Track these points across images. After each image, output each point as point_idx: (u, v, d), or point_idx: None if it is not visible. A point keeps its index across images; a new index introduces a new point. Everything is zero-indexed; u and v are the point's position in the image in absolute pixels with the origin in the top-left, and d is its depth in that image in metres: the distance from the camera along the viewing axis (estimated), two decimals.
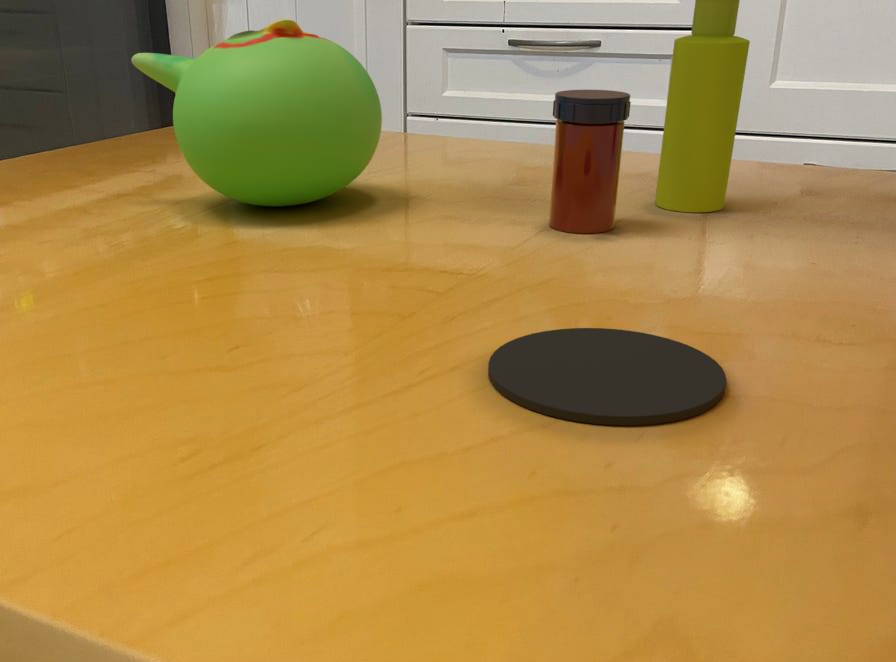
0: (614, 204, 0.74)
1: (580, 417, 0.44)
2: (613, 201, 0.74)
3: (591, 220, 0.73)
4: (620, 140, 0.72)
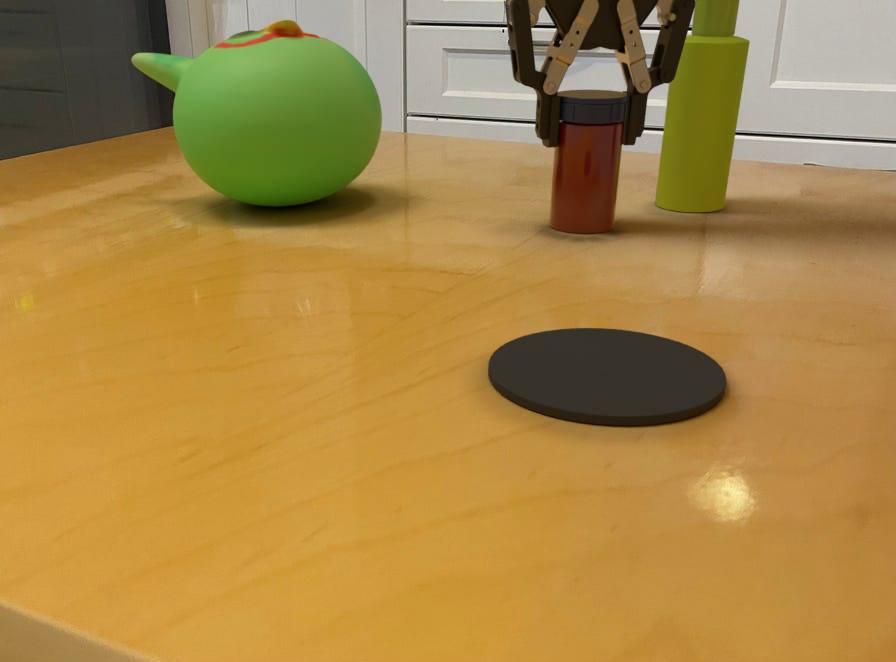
0: (614, 204, 0.74)
1: (580, 417, 0.44)
2: (613, 201, 0.74)
3: (591, 220, 0.73)
4: (620, 140, 0.72)
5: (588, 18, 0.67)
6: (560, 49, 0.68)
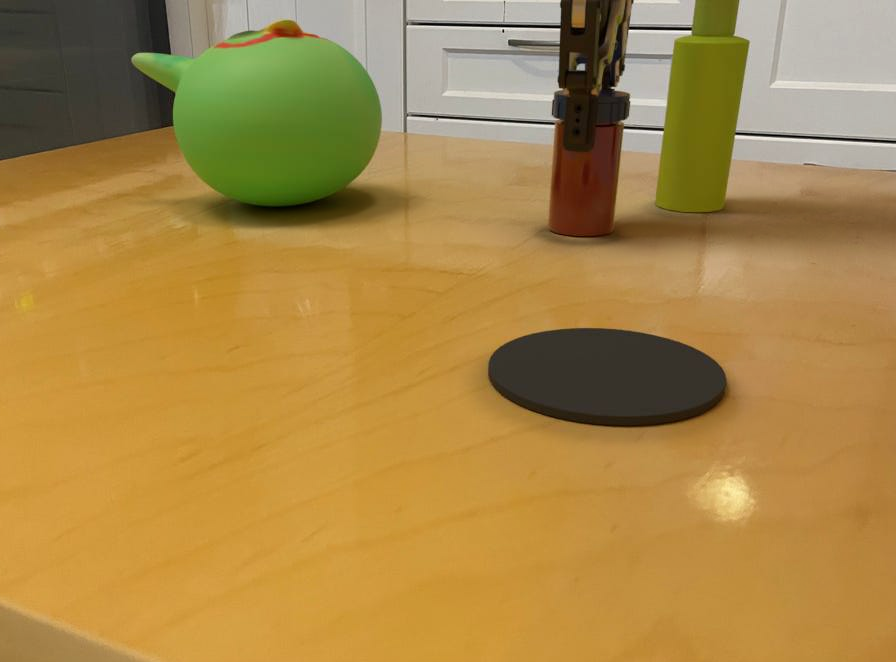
0: (615, 206, 0.73)
1: (580, 417, 0.44)
2: (615, 202, 0.73)
3: (596, 223, 0.73)
4: (621, 141, 0.71)
5: (621, 16, 0.66)
6: (607, 49, 0.66)
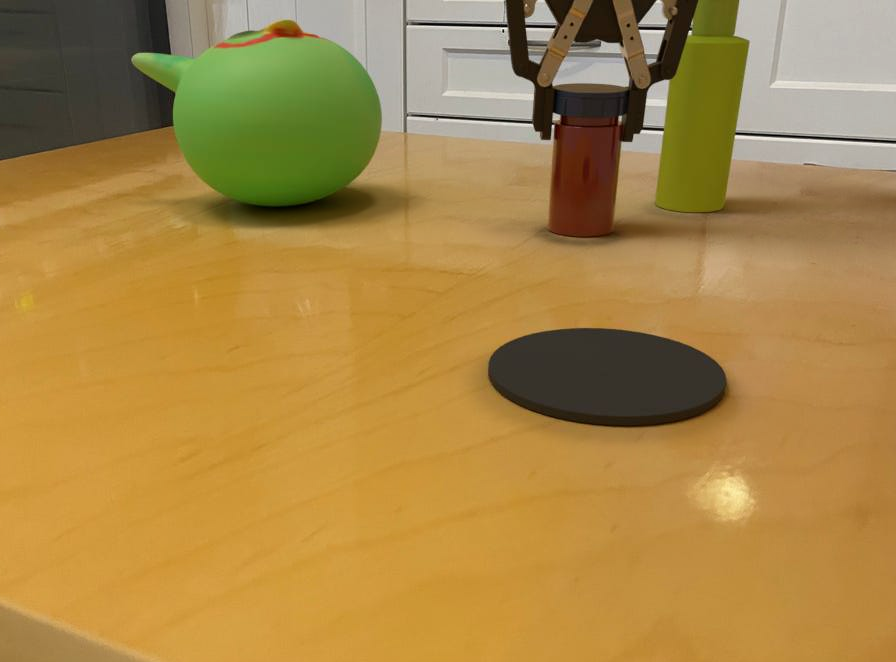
0: (615, 206, 0.73)
1: (580, 417, 0.44)
2: (614, 202, 0.73)
3: (596, 223, 0.73)
4: (621, 141, 0.71)
5: None
6: None
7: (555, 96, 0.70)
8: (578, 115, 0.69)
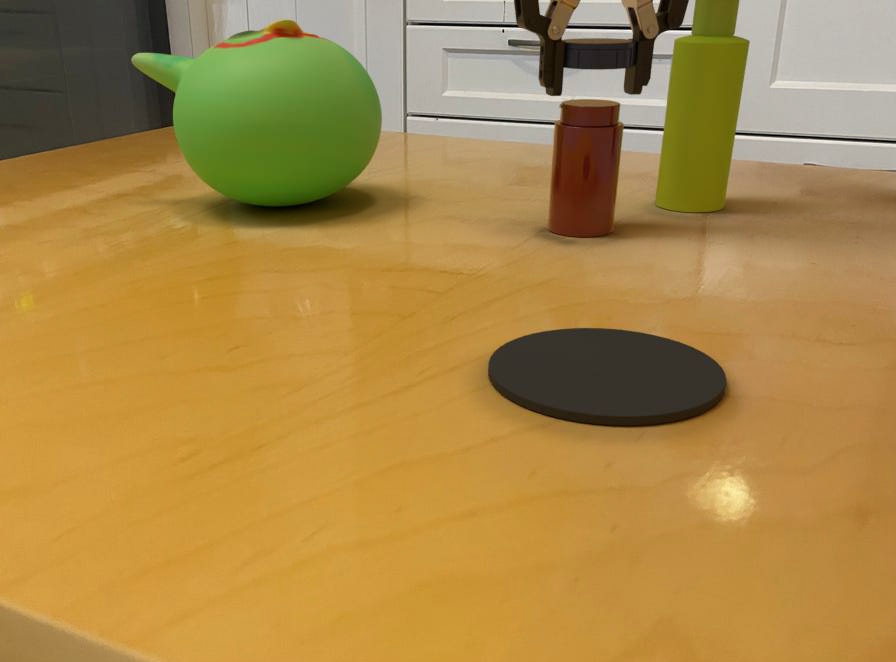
0: (615, 206, 0.73)
1: (580, 417, 0.44)
2: (615, 202, 0.73)
3: (596, 223, 0.73)
4: (621, 141, 0.71)
5: None
6: None
7: (565, 50, 0.68)
8: (593, 67, 0.68)
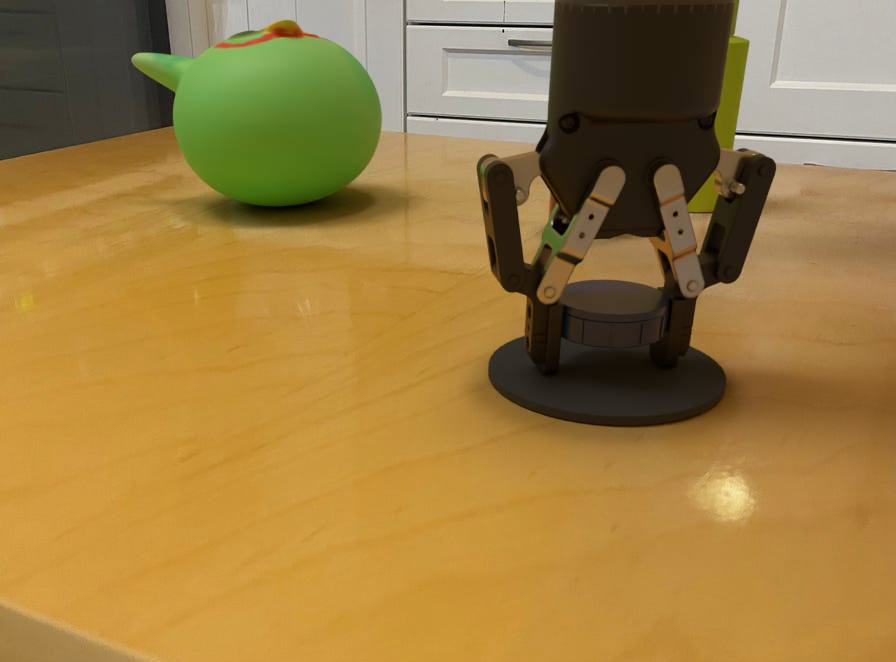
0: None
1: (580, 417, 0.44)
2: None
3: None
4: None
5: None
6: None
7: (563, 314, 0.46)
8: (604, 346, 0.45)
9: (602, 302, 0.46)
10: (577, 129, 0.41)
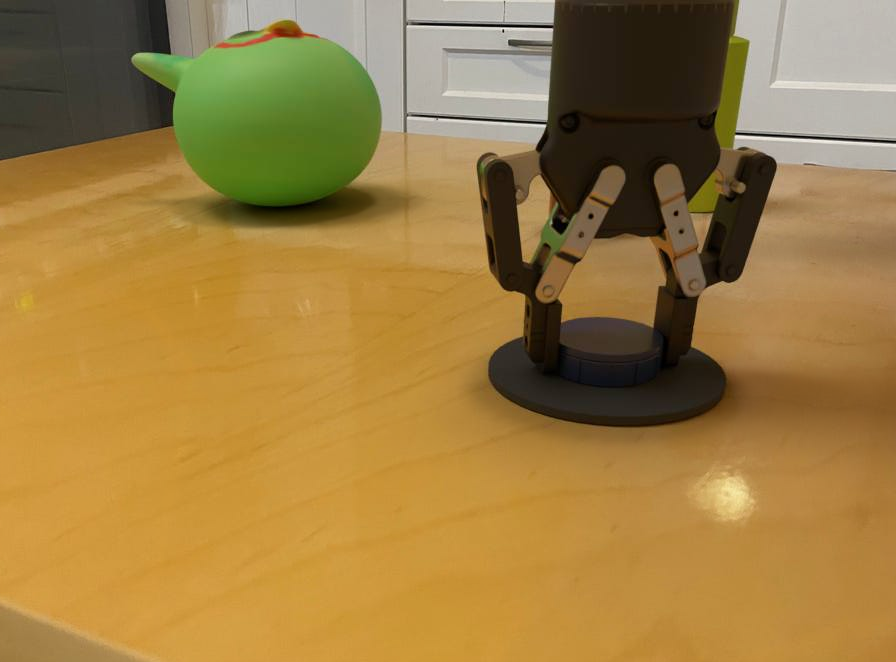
0: None
1: (580, 417, 0.44)
2: None
3: None
4: None
5: None
6: None
7: (560, 353, 0.47)
8: (600, 384, 0.46)
9: (598, 341, 0.47)
10: (577, 128, 0.41)
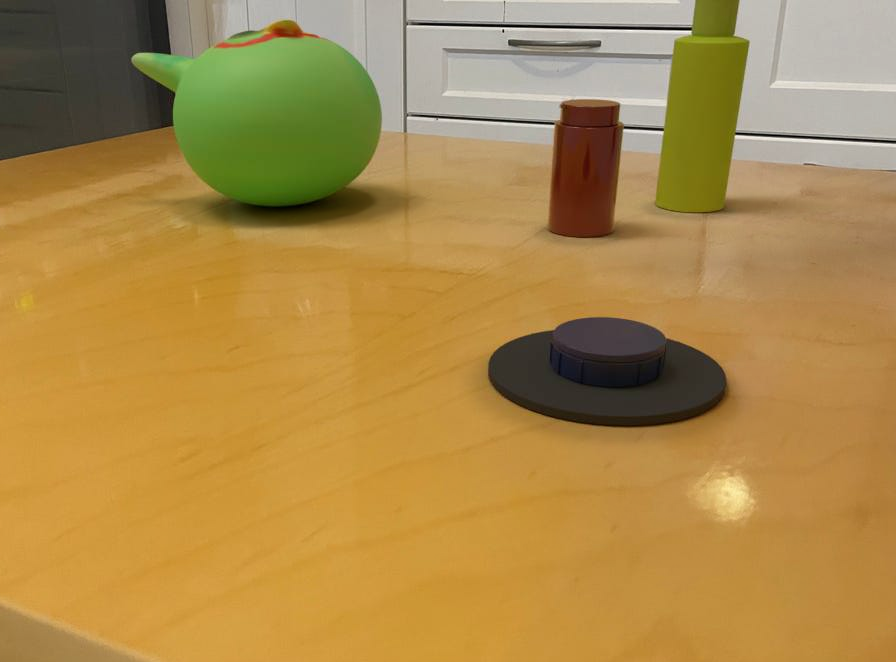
0: (615, 206, 0.73)
1: (580, 417, 0.44)
2: (615, 202, 0.73)
3: (596, 223, 0.73)
4: (621, 141, 0.71)
5: None
6: None
7: (563, 354, 0.47)
8: (603, 385, 0.46)
9: (601, 342, 0.47)
10: None
